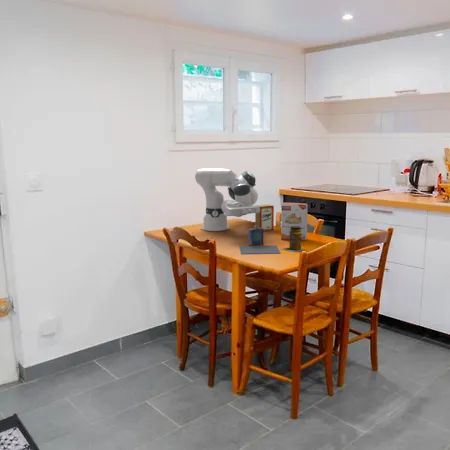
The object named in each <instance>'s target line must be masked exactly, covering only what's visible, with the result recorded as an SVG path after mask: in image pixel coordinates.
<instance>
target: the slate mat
mask: <svg viewBox="0 0 450 450" xmlns="http://www.w3.org/2000/svg"><path fill="white" fill-rule="evenodd" d="M239 251H240V254H241V255H261V254H262V255H266V254H269V255H271V254H273V255H275V254H278V255H279V254H282V253H281V251H280V249H279V247H278V246H277V244H276V245H275V244H273V245H271V244H270V245H269V244H268V245H253V246H251V245H250V246H249V245H239Z"/></svg>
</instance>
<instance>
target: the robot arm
mask: <svg viewBox="0 0 450 450" xmlns="http://www.w3.org/2000/svg"><path fill="white" fill-rule="evenodd" d="M194 177H195V178H194V179H195V183H197V185H199V186H200V187H201V188H202V190H203V192H204V195H205V202H206V203H205V204H206V205H205V215H204V216H203V220H202V221H203V226H201V227H200V230H202V231H209V232H219V231H220V232H221V231H227V230H231V227H230V226H229V225H228V217H235V218H240V217H241V218H242V217H243V216H246V215H251V214H255V213H259V212H260V207H259V206H255V204H256V203H257V201H258V198H259V195H258V192H257V190H256V189H255V188H254V187H255V186H256V176H255V175H254V174H253V173H252V172H250V171H248V170H246V171H243V172H242V173H241V175H239V177H238V175H237V174H236V173H235V171H233V170H232V169H229V168H218V167H217V168H215V167H213V168H212V167H210V168H209V167H206V168H205V167H204V168H198V169H197V171H195V175H194ZM216 187H227V191H228V192H227V193H228V196H229V197H230V198H231V199H228V200H225V199H224V198H225V197H224V194H223V193H222V192H220V191H218V189H217V188H216Z"/></svg>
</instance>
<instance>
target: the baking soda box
mask: <svg viewBox="0 0 450 450" xmlns="http://www.w3.org/2000/svg"><path fill="white" fill-rule="evenodd" d="M254 206H259V207H260V212H259V213H254V214H255V221H254V222H255V224H254V226H255V225H256V227H257V228H258V227H260V228H263V232H270V231H272V232H273V231H274V230H275V229H274V227H275V226H274V225H275V224H274V221H275V220H274V216H275V215H274V213H275V209H274V205H272V204H257V205H255V204H254Z"/></svg>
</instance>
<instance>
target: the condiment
mask: <svg viewBox="0 0 450 450" xmlns="http://www.w3.org/2000/svg"><path fill="white" fill-rule="evenodd" d="M283 250H285V251H289V252H297V251H298V252H299V251H303V250H305V249H304V248H302V241H301V227H299V226H291V229H290V240H289V247H285V248H283Z"/></svg>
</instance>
